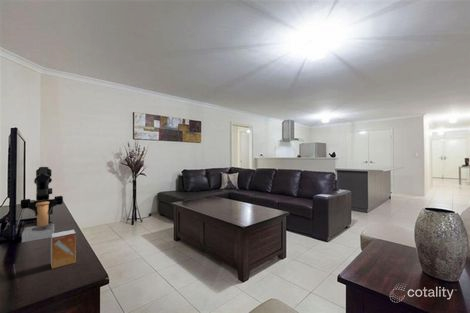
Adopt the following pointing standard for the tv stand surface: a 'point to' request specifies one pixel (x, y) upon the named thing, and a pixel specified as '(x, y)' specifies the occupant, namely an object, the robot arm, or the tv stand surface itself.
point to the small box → (63, 248)
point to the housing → (37, 232)
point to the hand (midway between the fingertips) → (42, 213)
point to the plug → (42, 213)
